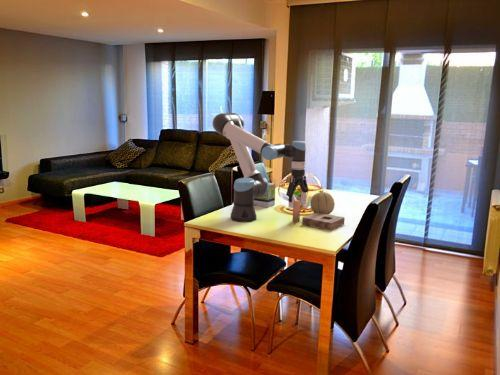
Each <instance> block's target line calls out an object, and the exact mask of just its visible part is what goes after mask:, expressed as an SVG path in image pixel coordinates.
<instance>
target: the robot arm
mask: <svg viewBox="0 0 500 375" xmlns="http://www.w3.org/2000/svg"><path fill="white" fill-rule="evenodd" d="M244 126H245V122H244V118H243V117H242V116H241V115H240V114H239V113H237V112H236V113H234V112H229V113H227V112H225V113H218V114H216V115H215V116H214V118H213V119H212V127H213V129H214V131H215V132H216V133H218V134H219V135H221V136H223V137H224V138H225V137H226V139H227V140H229V141H230V144H231V146H232V149H233V151H234V154H235V156H236V159H237V162H238V164H239V166H240V170H241V171H242V174H243V177H240V178H237V179H235V181H234V182H233V183H234V184H233V207H232V209H231V212H230V221H231V220H232V221H234V222H239V223H249V222H255V221H256V220H257V213H256V209H255V205H254V198H257V197H261V196H263V195H265V194H266V193H267V191H268V189H269V184H268V183H269V181H268V179H267V178H266V177H264V176H263V175H262V172H261V171H259V170H258V169H257V166H256V163H255V161H254V160H253V157H252V154H251V151H250V149H251V150H252V151H255V152H256V153H258V154H260V155H261V156H262V158H263V159H265V160H267V161H272V160H275V159H281V158H291V176H292V178H289V183H288V186H287V190H286V196H287V197H288V208H291V209H293V202H294V200H295V199H294V194H295V191H296V189H297V188H298V186H299V187H300V190H301V192H300V193H301V194H300V196H301V197H300V204H304V205H305V204H306V203H307V202H306V201H307V193H309V186H308V182H307V176H306V169H305V168H306V152H307V151H306V142H305V141H303V140H293V141H292V143H291V144H289V143H274V144H272V143H269V142H268V141H266V140H264V139H262V138H260V137H259V136H256V135H254V134H253V133H251V132H249V131H247V130H246V129H244V128H245V127H244Z"/></svg>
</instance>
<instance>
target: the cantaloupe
mask: <svg viewBox="0 0 500 375" xmlns="http://www.w3.org/2000/svg"><path fill="white" fill-rule="evenodd" d="M335 204H336V203H335V199H334V198H333V196H332V195H331V194H330V193H329V192H326V191H325V192H324V191H322V190H319V192H317V193H314V195H313V196H311V199H310V204H309V205H310V209H311V211H312V212H313V213H316V212H318V213H324V214H329V215H331V213H332V212H333V211H334V209H335Z"/></svg>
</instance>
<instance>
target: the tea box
mask: <svg viewBox="0 0 500 375" xmlns="http://www.w3.org/2000/svg"><path fill="white" fill-rule="evenodd" d="M268 184H269V189H268V191H267V193H266V194H265V195H263V196H261V197H257V198H254V206H257V207H264V208H270V207H273V206H275V204H276V183H271V182H268Z"/></svg>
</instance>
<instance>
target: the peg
mask: <svg viewBox="0 0 500 375" xmlns="http://www.w3.org/2000/svg"><path fill="white" fill-rule="evenodd" d="M300 214H301V200H298V199H297V200H296V199H294V202H293V208H292V222H293V223H299V222H300V220H301V219H300V216H301V215H300Z"/></svg>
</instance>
